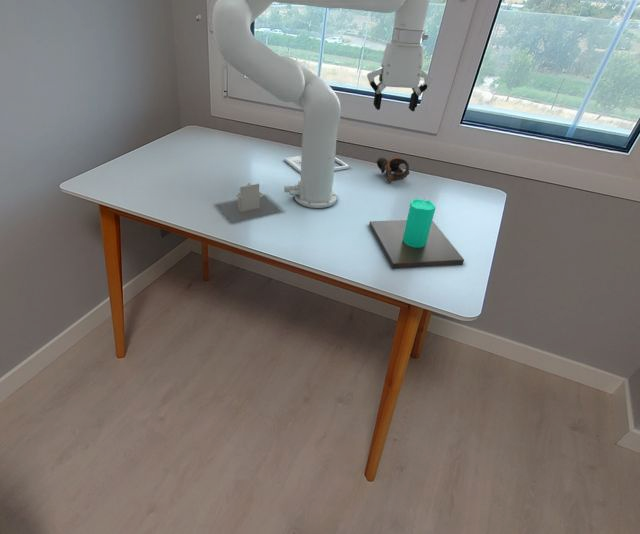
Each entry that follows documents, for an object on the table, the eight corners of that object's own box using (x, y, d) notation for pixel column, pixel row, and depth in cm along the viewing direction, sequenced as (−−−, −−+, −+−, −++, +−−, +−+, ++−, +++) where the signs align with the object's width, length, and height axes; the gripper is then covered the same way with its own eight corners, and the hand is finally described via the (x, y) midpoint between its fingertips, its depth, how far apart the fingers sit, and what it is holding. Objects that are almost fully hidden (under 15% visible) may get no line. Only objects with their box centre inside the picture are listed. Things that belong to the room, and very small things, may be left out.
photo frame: (284, 157, 145) (327, 151, 153) (284, 160, 146) (327, 154, 154) (304, 172, 135) (349, 165, 143) (304, 175, 136) (348, 168, 144)
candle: (426, 249, 100) (437, 205, 93) (402, 245, 101) (411, 201, 94) (426, 237, 105) (437, 195, 98) (403, 233, 106) (412, 191, 99)
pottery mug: (409, 176, 143) (416, 161, 135) (397, 195, 139) (404, 181, 131) (379, 161, 144) (384, 145, 137) (367, 179, 141) (371, 164, 133)
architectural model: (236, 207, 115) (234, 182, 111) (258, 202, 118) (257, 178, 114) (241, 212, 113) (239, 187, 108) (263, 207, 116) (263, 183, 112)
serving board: (392, 268, 95) (393, 263, 94) (369, 226, 111) (369, 221, 110) (462, 264, 99) (464, 259, 98) (430, 223, 114) (431, 219, 114)
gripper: (434, 37, 104) (420, 107, 114) (369, 33, 102) (360, 104, 112) (445, 41, 98) (429, 114, 108) (376, 37, 96) (366, 111, 106)
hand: (394, 109), depth 110 cm, fingers open, 9 cm apart
